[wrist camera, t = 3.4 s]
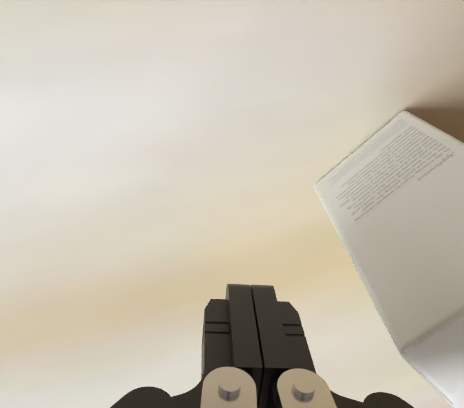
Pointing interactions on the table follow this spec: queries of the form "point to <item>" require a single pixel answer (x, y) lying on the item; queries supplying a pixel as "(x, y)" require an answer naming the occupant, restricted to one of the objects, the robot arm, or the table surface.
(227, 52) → the table surface
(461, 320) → the small box
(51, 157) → the table surface
